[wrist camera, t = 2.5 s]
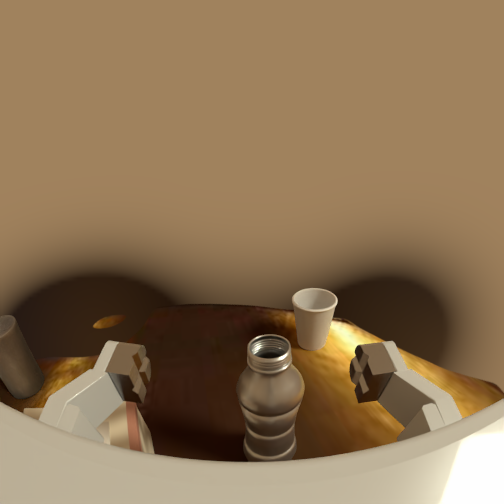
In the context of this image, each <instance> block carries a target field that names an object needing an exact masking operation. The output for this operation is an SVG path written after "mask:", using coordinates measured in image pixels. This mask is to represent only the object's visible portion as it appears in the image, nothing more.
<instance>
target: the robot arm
mask: <svg viewBox="0 0 504 504" xmlns="http://www.w3.org/2000/svg"><path fill="white" fill-rule="evenodd" d="M145 354H146V350H145V347H144V346H143V345H137V344H129V343H122V342H114V341H108V342H107V343H106V344H105V346H104V348H103V350H102V352H101V354H100V356H99V358H98V360H97V362H96V364H95V366H94V368H93V370H91V369H90V370H88V371H87V372H85V373H84V374H82V375H81V376H79V377H78V378H76V379H75V380H73V381H72V382H70V383H69V384H67V385H66V386H64V387H63V388H61V389H60V390H58V391H57V392H55V393H54V394H52V395H51V396H50V397H49V399H48V401H47V403H46V405H45V407H44V409H43V411H42V413H41V415H40V418H39V420H37V419H34V418H32V417H30V416H28V415H25V414H23V413H21V412H19V411H17V410H15V409H13V408H11V407H9V406H7V405H5V404H3V403H1V402H0V504H504V399H502V400H500V401H498V402H496V403H494V404H492V405H491V406H489V407H487V408H485V409H483V410H481V411H478V412H476V413H474V414H472V415H470V416H468V417H465V418H462V416H461V414H460V412H459V410H458V408H457V406H456V404H455V402H454V400H453V398H452V396H451V395H449V394H448V393H446V392H445V391H443V390H442V389H440V388H439V387H437V386H436V385H434V384H433V383H431V382H430V381H428V380H427V379H425V378H424V377H422V376H421V375H419V374H418V373H416V372H415V371H413V370H412V369H408V368H407V366H406V364H405V362H404V360H403V358H402V356H401V355H400V353H399V351H398V349H397V347H396V345H395V343H394V342H393V341H388V342H381V343H372V344H364V345H358V346H357V347H356V349H355V354H356V356H355V357H354V358H353V359H352V361H351V364H350V377H351V381H352V382H353V383H354V384H356V385H357V386H356V388H355V393H356V397H357V400H358V403H363V402H370V401H376V400H378V402H379V403H380V404H381V405H382V406H383V407H384V408H385V409H386V410H387V411H388V412H389V413H390V414H391V415H392V416H393V417H394V418H396V419H397V420H398V421H399V422H400V423H401V424H402V425H403V426H404V427H405V429H404V430H403V431H402V432H401V433H400V435H399V436H398V437H397V440H398V442H395V443H391V444H388V445H384V446H380V447H375V448H371V449H367V450H362V451H357V452H352V453H346V454H340V455H334V456H327V457H320V458H312V459H302V460H290V461H273V462H224V461H207V460H195V459H185V458H177V457H170V456H163V455H157V454H151V453H145V452H140V451H135V450H131V449H126V448H122V447H117V446H113V445H110V444H106V443H104V438H103V436H102V435H101V434H100V433H99V432H98V431H97V429H96V428H97V427H98V426H99V425H100V424H101V423H102V422H103V421H104V420H105V419H106V418H107V417H108V416H109V415H110V414H112V413H113V412H114V411H115V410H116V409H117V408H118V407H119V406H120V405H121V404H122V403H123V401H128V402H135V403H142V404H143V401H144V397H145V394H146V388H145V386H144V385H146V384H147V383H148V382H149V380H150V376H151V365H150V361H149V359H148V358H147V357H145Z"/></svg>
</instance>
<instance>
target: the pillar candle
mask: <svg viewBox="0 0 504 504" xmlns="http://www.w3.org/2000/svg"><path fill="white" fill-rule="evenodd" d="M0 378H1V379H2V381H3V383H4V384H5V386H6V387H7V389H8V391H9V392H10V393H11V394H12V396H14V397H15V398H17V399H25V398H28V397H30V396H32V395H34V394H36V393H37V392H38V391H39V390H40V389H41V387H42V385H43V383H44V376H43V374H42V371H41V369H40V368H39V366H38V364H37V363H36V361H35V359H34V357H33V355H32V353H31V351H30V350H29V348H28V345H27V344H26V341H25V339H24V337H23V335H22V333H21V331H20V329H19V326H18V324H17V322H16V320H15V318H14V317H13V316H10V315H8V316H2V317H0Z"/></svg>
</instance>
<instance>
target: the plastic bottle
mask: <svg viewBox="0 0 504 504" xmlns="http://www.w3.org/2000/svg"><path fill="white" fill-rule="evenodd" d="M247 351H248V357H247V363H248V367H247V368H246V369H245V370H244V371H243V372H242V374H241V375H240V377H239V380H238V383H237V387H236V392H237V396H238V400H239V403H240V406H241V409H242V411H243V414H244V418H245V423H246V435H245V438H244V443H243V451H244V454H245V456H246V458H247V460H248V461H249V462H273V461H290V460H291V459H292V457H293V455H294V454H295V451H296V438H295V435H294V423H295V419H296V414H297V411H298V408H299V406H300V403H301V400H302V398H303V394H304V388H305V387H304V382H303V379H302V376H301V374H300V372H299V371H298V370H297V369H296V368H295V367H294V366H293V365H292V355H291V345H290V343H289V341H288V340H287V339H286V338H284V337H282V336H279V335H274V334H266V335H261V336H258V337H255V338H254V339H252V340H251V341H250V342H249V344H248V348H247Z"/></svg>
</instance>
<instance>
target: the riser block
mask: <svg viewBox="0 0 504 504" xmlns="http://www.w3.org/2000/svg"><path fill="white" fill-rule="evenodd" d="M43 409H44V408H25V409H24V413H23V414H25V415H28V416H30V417H32V418H34V419H37V420H39V418H40V415H41V413H42V411H43ZM96 429H97V431H98V432H99V433H100V434H101V435H102V436H103V438H104V443H106V444H110V445H113V446H117V447H122V448H126V449H131V450H135V451H140V452H145V453H151V454H154V449H153V444H152V438H151V433H150V431H149V429H148V427H147V426H146V424H145V422H144V420H143V418H142V416H141V414H140V412H139V410H138V408H137V406H136V403H135V402H128V401H123V403H122V404H121V405H120V406H119V407H118V408H117V409H116V410H115V411H114V412H113V413H112V414H110V415H109V416H108V417H107V418H106V419H105V420H104V421H103V422H102V423H101V424H100V425H99V426H98V427H97V428H96Z"/></svg>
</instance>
